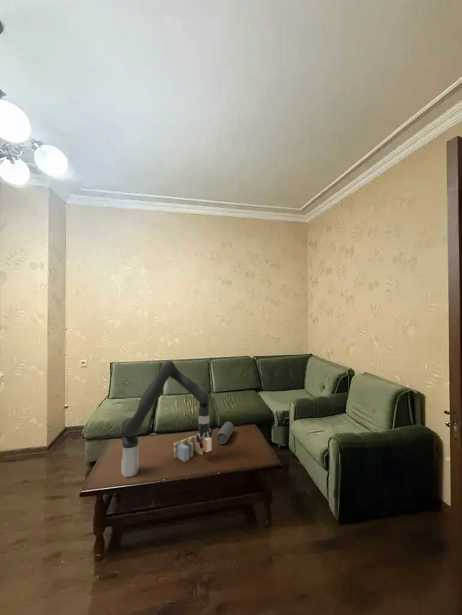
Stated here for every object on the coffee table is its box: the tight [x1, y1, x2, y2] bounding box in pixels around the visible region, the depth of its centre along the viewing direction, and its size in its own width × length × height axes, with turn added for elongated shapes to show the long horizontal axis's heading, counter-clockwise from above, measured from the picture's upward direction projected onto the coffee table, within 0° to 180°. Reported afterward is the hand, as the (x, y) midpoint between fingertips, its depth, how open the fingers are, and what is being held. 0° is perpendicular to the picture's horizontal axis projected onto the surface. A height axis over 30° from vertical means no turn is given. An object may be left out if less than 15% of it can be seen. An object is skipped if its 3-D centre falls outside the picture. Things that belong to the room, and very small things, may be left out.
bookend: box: [186, 441, 194, 459], centre depth 190 cm, size 4×7×9 cm, turn 44°
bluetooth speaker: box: [216, 421, 235, 445], centre depth 216 cm, size 23×9×10 cm, turn 167°
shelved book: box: [176, 443, 190, 463], centre depth 186 cm, size 4×8×8 cm, turn 44°
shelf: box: [173, 434, 204, 459], centre depth 190 cm, size 18×10×10 cm, turn 134°
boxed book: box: [197, 435, 213, 453], centre depth 185 cm, size 10×4×8 cm, turn 44°
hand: (204, 446), depth 185 cm, fingers closed on boxed book, 4 cm apart
